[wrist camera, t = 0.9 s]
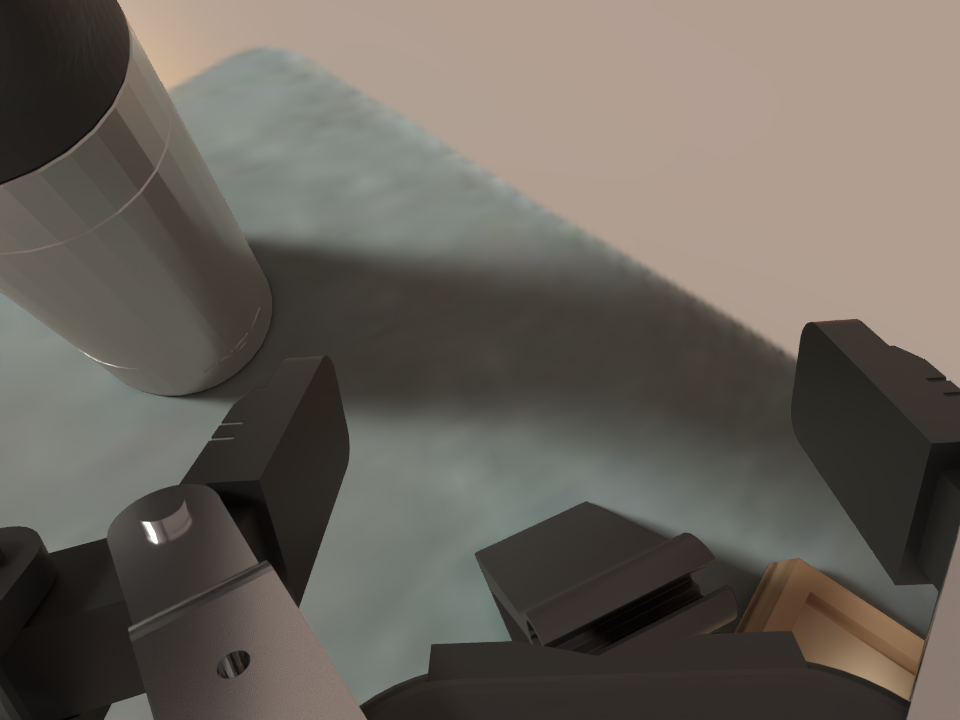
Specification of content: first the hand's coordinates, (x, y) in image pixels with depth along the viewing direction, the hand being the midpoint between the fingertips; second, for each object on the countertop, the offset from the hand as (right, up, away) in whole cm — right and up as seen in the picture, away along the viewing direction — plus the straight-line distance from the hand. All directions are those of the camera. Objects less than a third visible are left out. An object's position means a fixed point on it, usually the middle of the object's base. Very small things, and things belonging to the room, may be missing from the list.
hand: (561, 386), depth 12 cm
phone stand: (+3, -12, +20) cm, 23 cm away
